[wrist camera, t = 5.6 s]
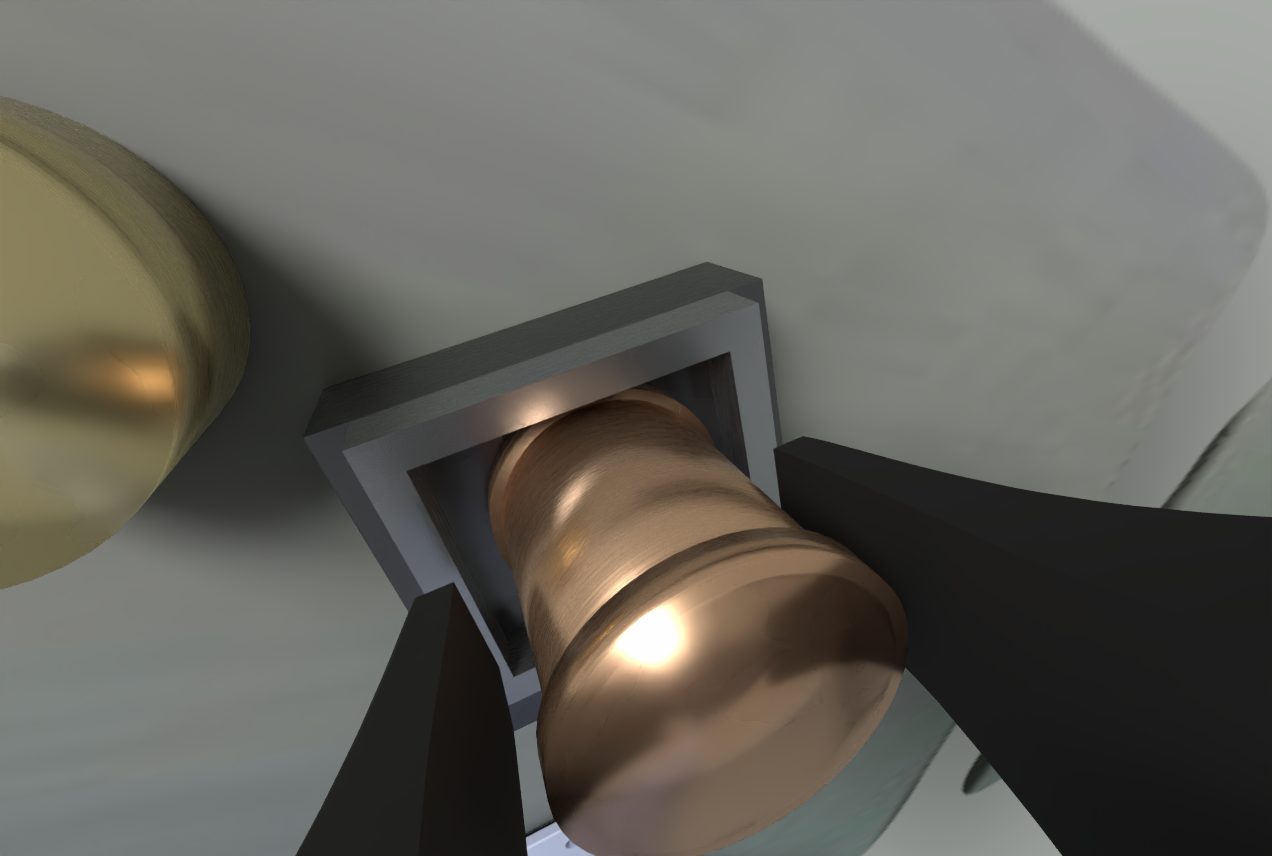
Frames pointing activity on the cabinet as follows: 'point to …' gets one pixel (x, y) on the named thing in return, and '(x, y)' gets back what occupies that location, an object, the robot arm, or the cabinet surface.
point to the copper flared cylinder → (682, 631)
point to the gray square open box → (521, 396)
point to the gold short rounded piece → (100, 336)
